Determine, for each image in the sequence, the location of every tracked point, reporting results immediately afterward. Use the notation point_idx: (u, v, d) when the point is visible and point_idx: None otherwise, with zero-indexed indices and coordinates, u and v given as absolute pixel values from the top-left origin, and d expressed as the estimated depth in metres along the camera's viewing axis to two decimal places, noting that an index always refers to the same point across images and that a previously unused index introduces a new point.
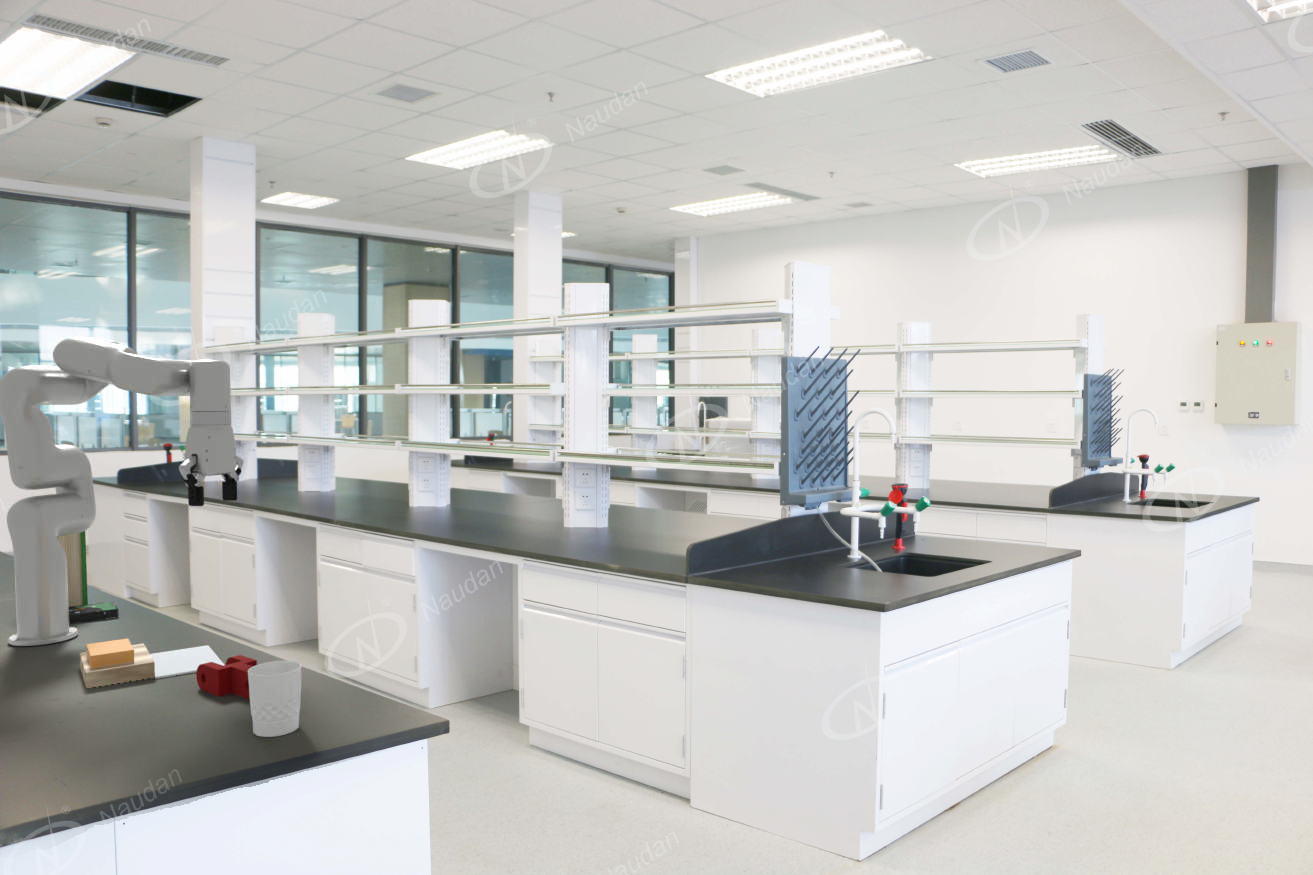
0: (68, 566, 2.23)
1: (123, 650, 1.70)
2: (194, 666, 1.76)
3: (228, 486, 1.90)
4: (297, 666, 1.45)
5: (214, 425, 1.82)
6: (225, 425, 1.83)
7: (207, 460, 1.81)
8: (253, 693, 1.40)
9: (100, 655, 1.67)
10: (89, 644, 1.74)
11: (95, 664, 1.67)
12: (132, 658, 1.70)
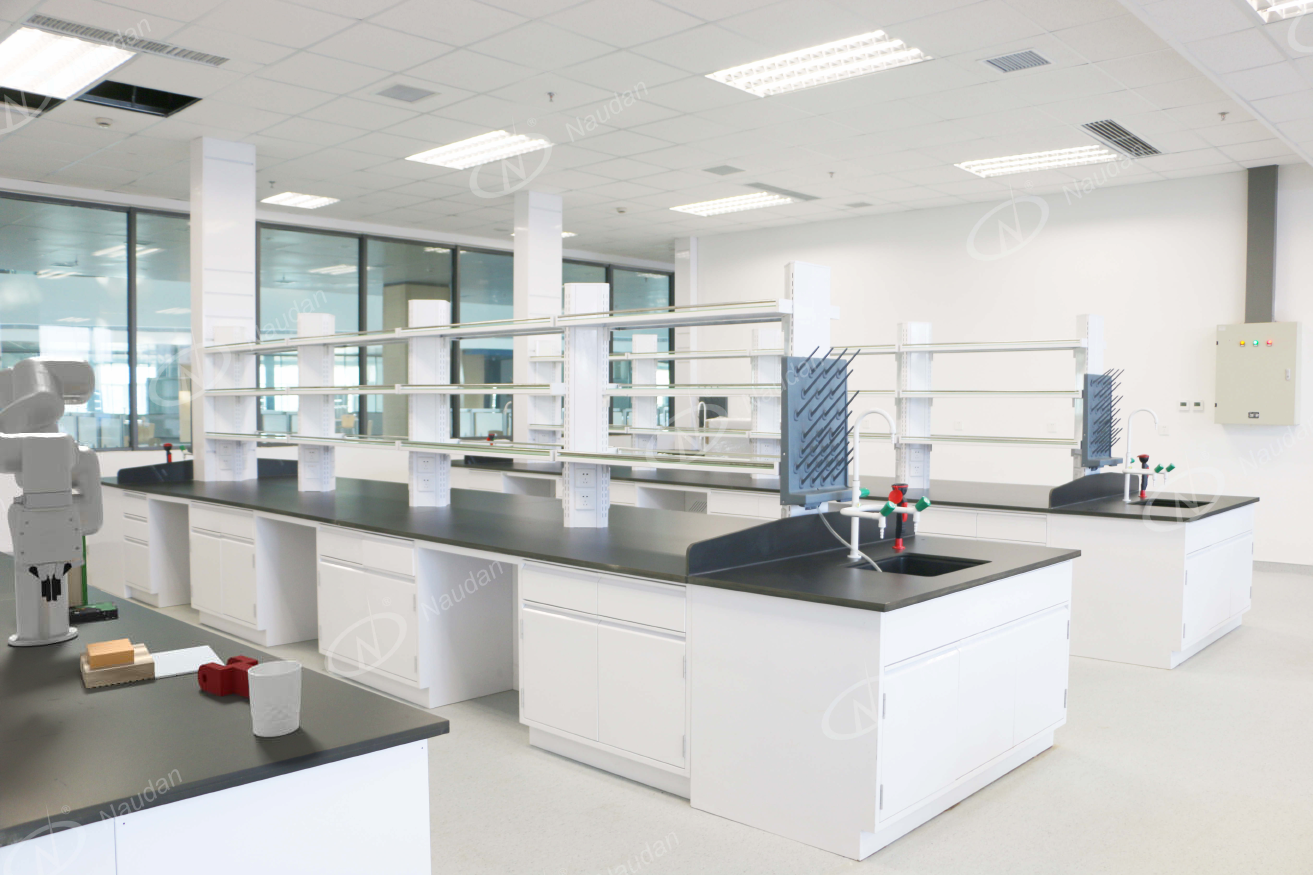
0: None
1: (123, 650, 1.70)
2: (194, 666, 1.76)
3: (50, 583, 1.66)
4: (297, 666, 1.45)
5: None
6: None
7: None
8: (253, 693, 1.40)
9: (100, 655, 1.67)
10: (89, 644, 1.74)
11: (95, 664, 1.67)
12: (132, 658, 1.70)
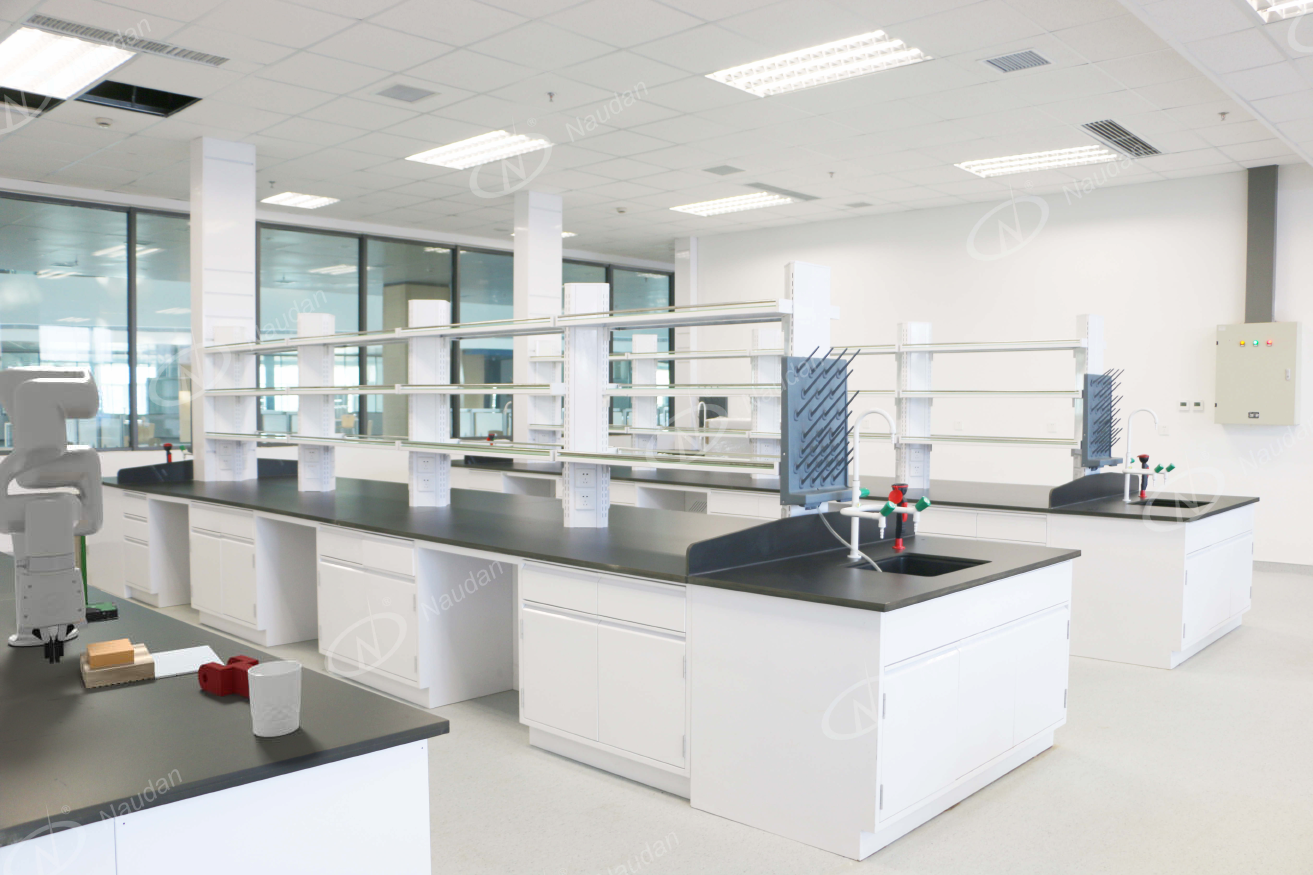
0: None
1: (123, 650, 1.70)
2: (194, 666, 1.76)
3: None
4: (297, 666, 1.45)
5: None
6: None
7: None
8: (253, 693, 1.40)
9: (100, 655, 1.67)
10: (89, 644, 1.74)
11: (95, 664, 1.67)
12: (132, 658, 1.70)
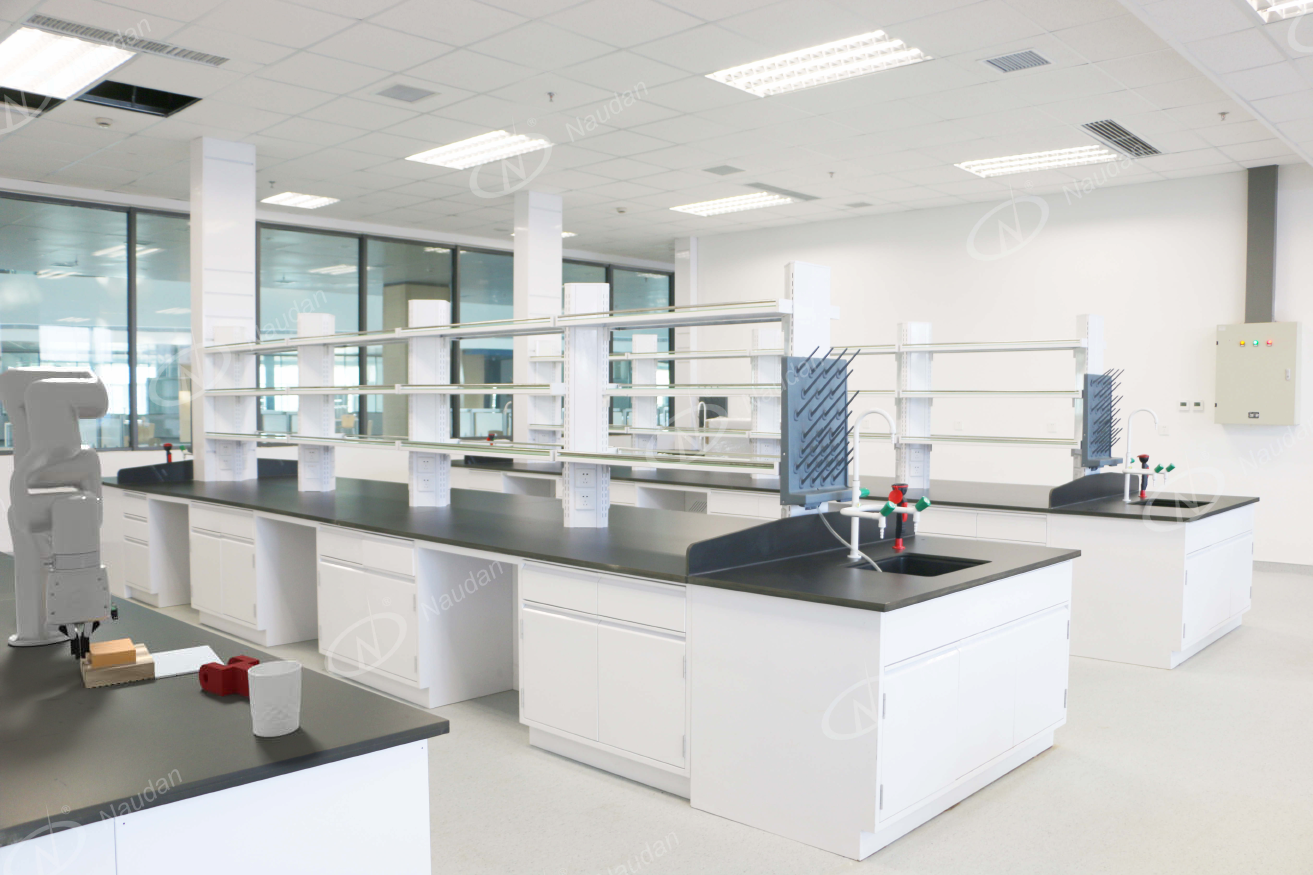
0: None
1: (125, 650, 1.70)
2: (194, 666, 1.76)
3: None
4: (297, 666, 1.45)
5: None
6: None
7: None
8: (253, 693, 1.40)
9: (102, 655, 1.67)
10: (91, 644, 1.74)
11: (97, 664, 1.67)
12: (134, 658, 1.70)
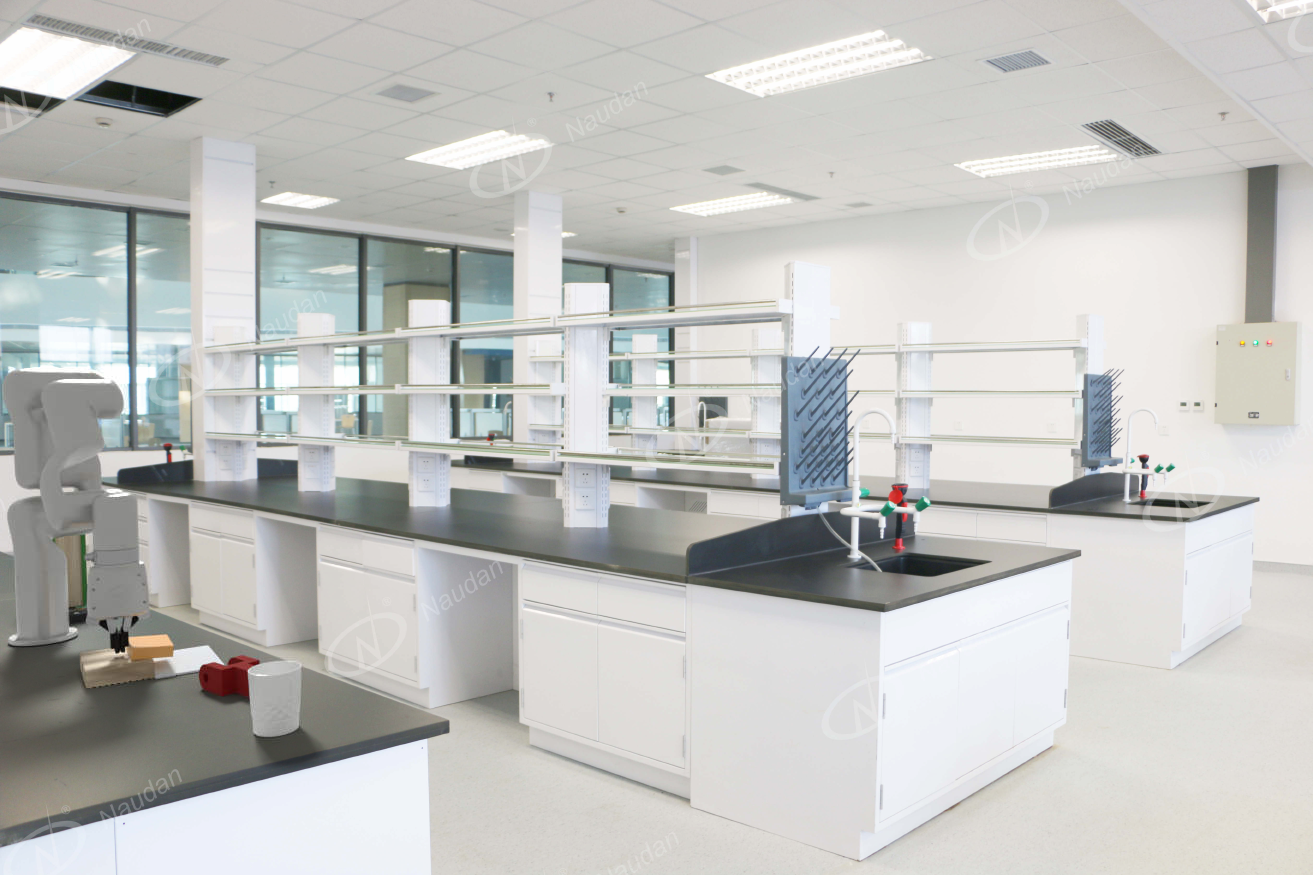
0: (68, 566, 2.23)
1: (163, 645, 1.74)
2: (194, 666, 1.76)
3: (118, 635, 1.73)
4: (297, 666, 1.45)
5: None
6: None
7: None
8: (253, 693, 1.40)
9: (141, 648, 1.71)
10: (130, 637, 1.78)
11: (136, 657, 1.71)
12: (171, 653, 1.74)
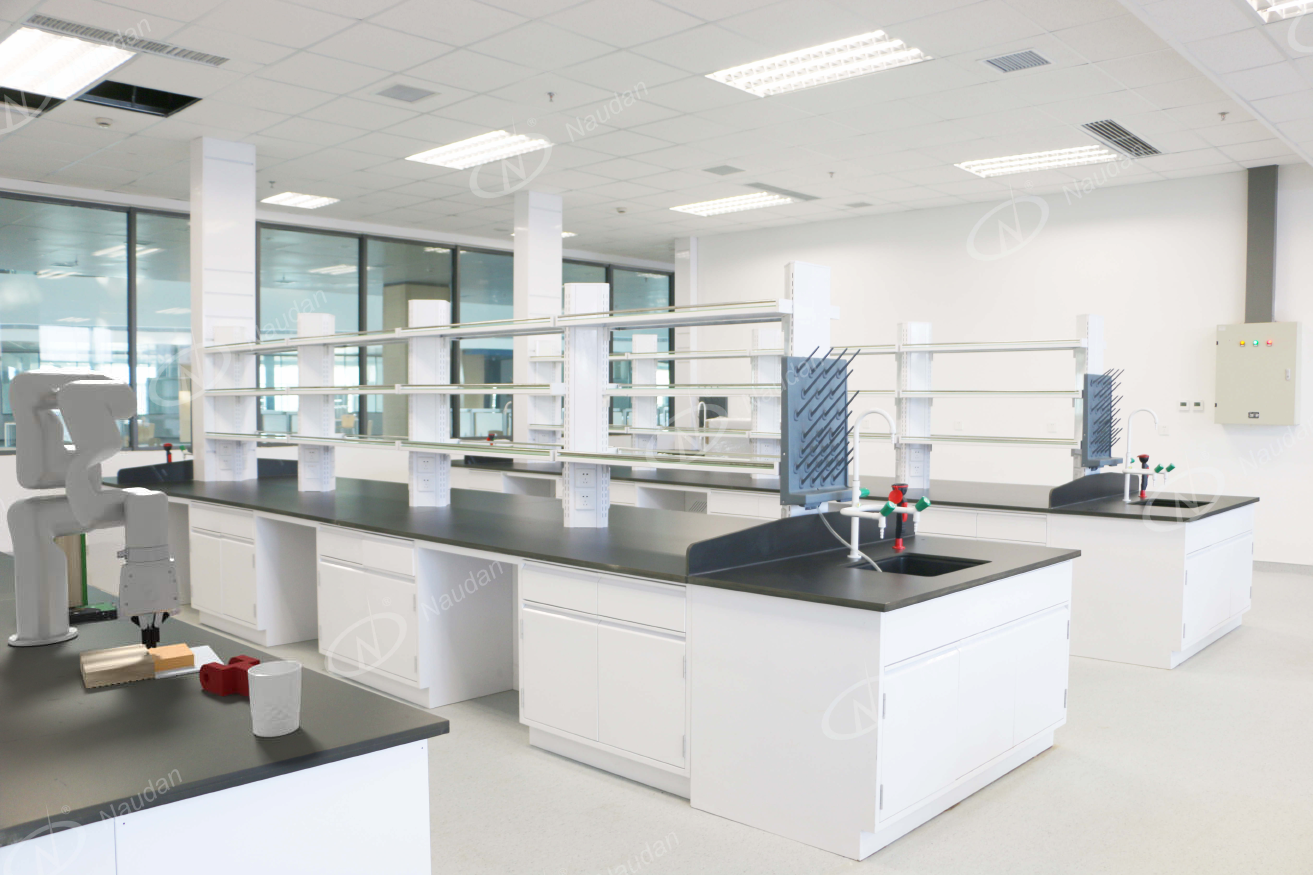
0: (68, 566, 2.23)
1: (184, 654, 1.76)
2: (194, 666, 1.76)
3: None
4: (297, 666, 1.45)
5: None
6: None
7: None
8: (253, 693, 1.40)
9: (162, 659, 1.73)
10: (149, 649, 1.80)
11: (158, 668, 1.73)
12: (192, 662, 1.76)
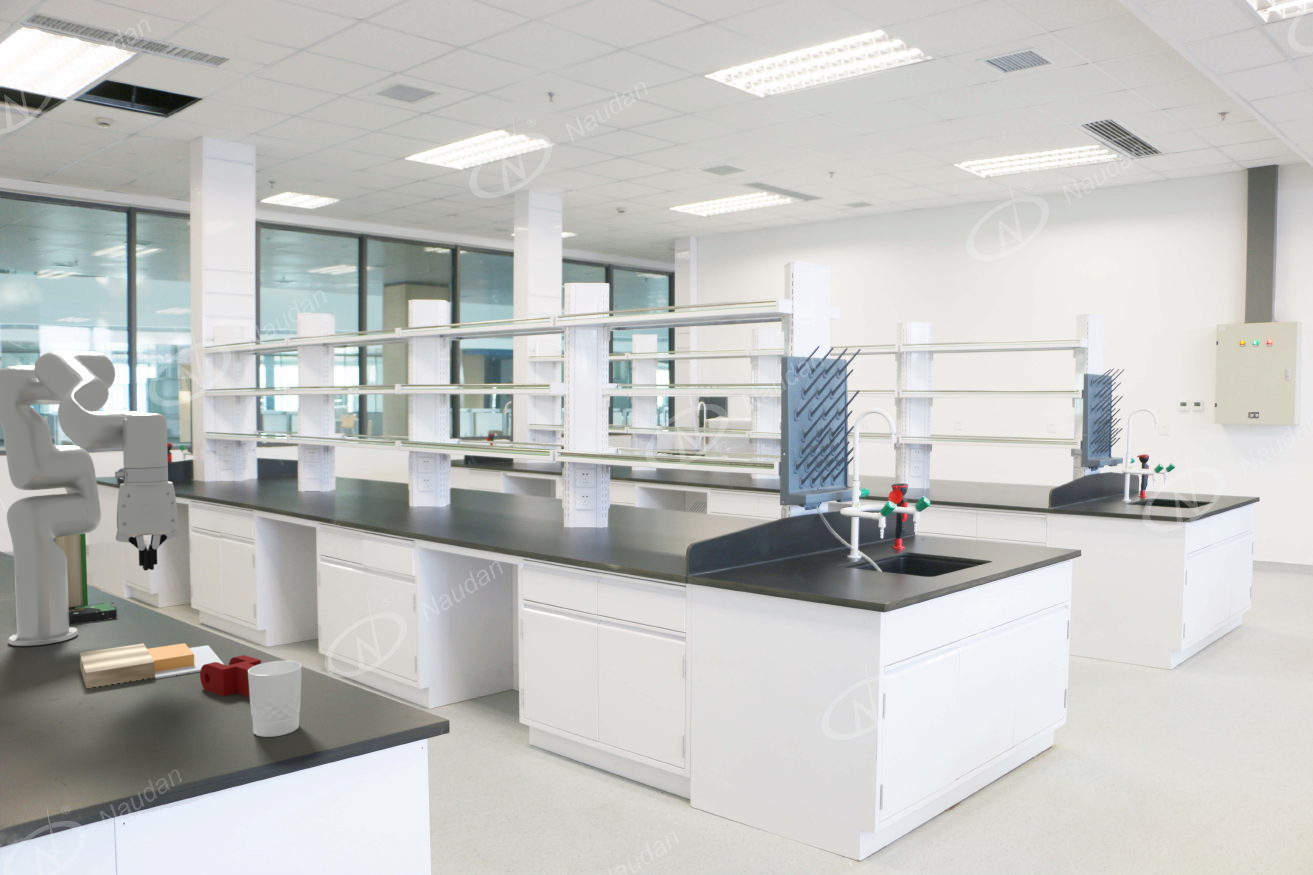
0: (68, 566, 2.23)
1: (184, 654, 1.76)
2: (194, 666, 1.76)
3: None
4: (297, 666, 1.45)
5: None
6: None
7: None
8: (253, 693, 1.40)
9: (162, 659, 1.73)
10: (149, 649, 1.80)
11: (158, 668, 1.73)
12: (192, 662, 1.76)
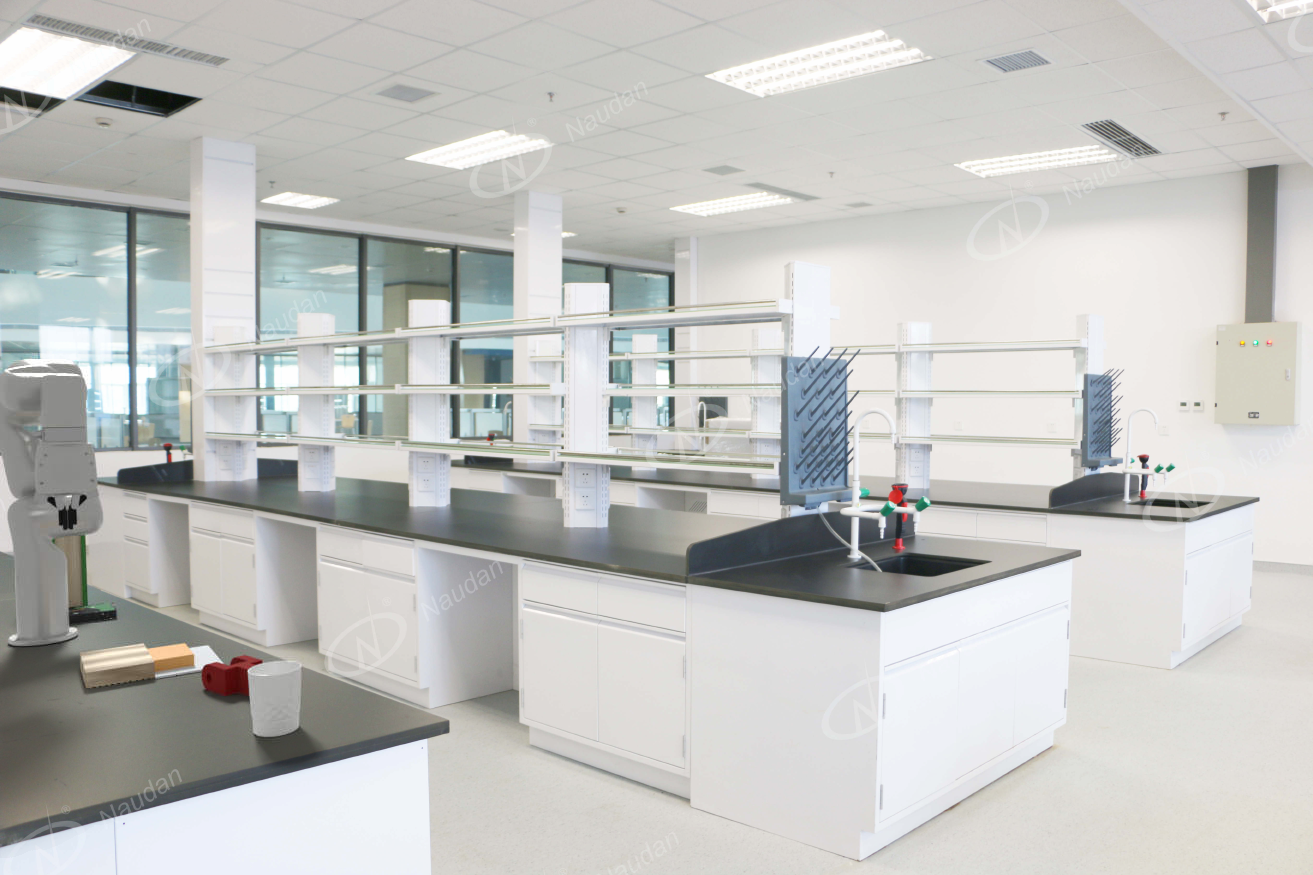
0: (68, 566, 2.23)
1: (184, 654, 1.76)
2: (194, 666, 1.76)
3: None
4: (297, 666, 1.45)
5: None
6: None
7: None
8: (253, 693, 1.40)
9: (162, 659, 1.73)
10: (149, 649, 1.80)
11: (158, 668, 1.73)
12: (192, 662, 1.76)
